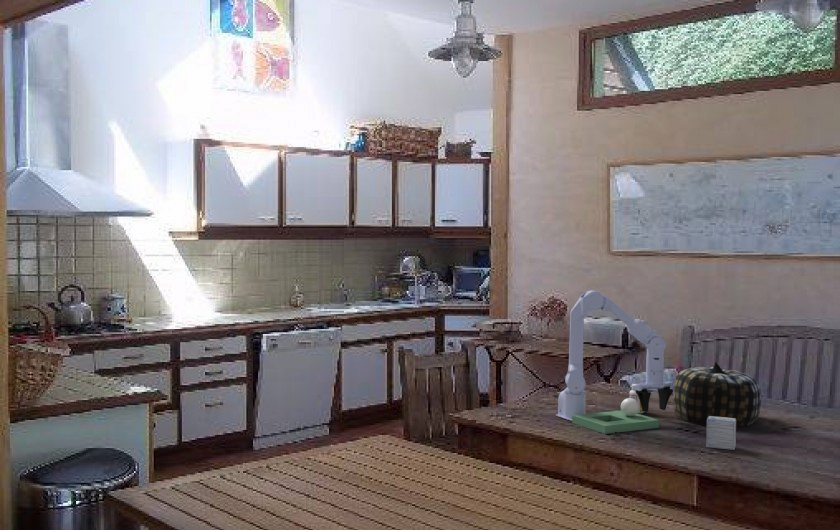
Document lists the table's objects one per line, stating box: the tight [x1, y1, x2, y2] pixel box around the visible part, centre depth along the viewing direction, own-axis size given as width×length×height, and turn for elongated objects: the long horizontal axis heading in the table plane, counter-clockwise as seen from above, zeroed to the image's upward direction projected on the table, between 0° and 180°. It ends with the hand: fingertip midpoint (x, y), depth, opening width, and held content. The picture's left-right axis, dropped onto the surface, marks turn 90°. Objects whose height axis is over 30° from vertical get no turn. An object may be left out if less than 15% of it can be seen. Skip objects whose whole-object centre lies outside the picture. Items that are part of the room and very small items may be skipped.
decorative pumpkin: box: [673, 361, 762, 427], centre depth 292 cm, size 30×29×20 cm
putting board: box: [571, 410, 660, 435], centre depth 279 cm, size 17×22×2 cm
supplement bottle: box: [628, 383, 645, 414], centre depth 301 cm, size 5×5×10 cm
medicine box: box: [705, 416, 737, 451], centre depth 252 cm, size 8×4×9 cm, turn 65°
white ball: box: [620, 397, 639, 416], centre depth 282 cm, size 6×6×6 cm
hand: (653, 410), depth 287 cm, fingers open, 7 cm apart
